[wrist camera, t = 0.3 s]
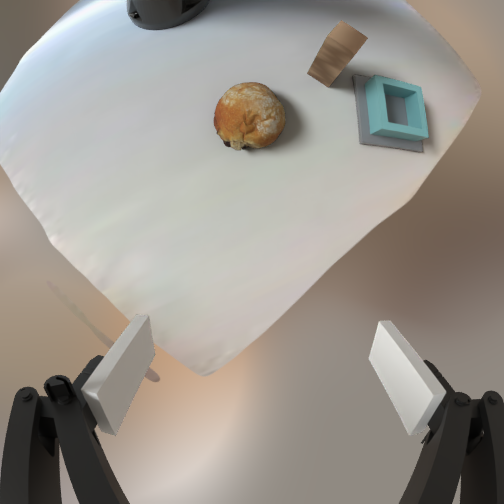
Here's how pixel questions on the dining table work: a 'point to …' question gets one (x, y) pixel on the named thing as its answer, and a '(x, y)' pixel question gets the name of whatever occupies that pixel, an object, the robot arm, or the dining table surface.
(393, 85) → the teal square socket
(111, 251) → the dining table surface
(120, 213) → the dining table surface
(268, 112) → the bread roll
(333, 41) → the walnut post
